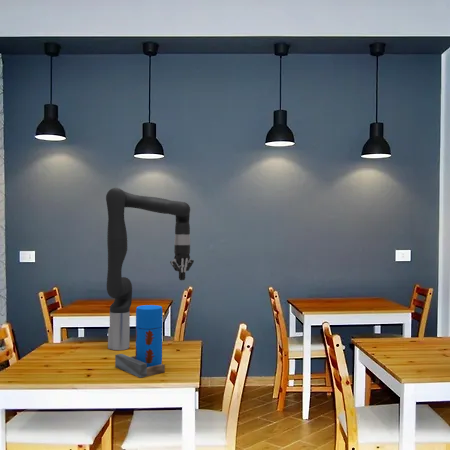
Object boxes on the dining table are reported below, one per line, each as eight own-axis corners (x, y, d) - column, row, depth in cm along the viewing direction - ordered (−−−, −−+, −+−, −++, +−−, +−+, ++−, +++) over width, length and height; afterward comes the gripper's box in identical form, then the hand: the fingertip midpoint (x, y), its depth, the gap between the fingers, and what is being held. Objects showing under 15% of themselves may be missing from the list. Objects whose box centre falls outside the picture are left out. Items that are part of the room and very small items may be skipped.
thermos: (136, 371, 214) (136, 309, 214) (134, 364, 225) (135, 305, 224) (163, 370, 217) (163, 309, 216) (160, 363, 227) (161, 304, 227)
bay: (139, 362, 229) (139, 350, 228) (164, 372, 214) (164, 359, 214) (115, 366, 221) (115, 354, 221) (140, 377, 207) (140, 365, 207)
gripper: (188, 243, 262) (188, 278, 262) (166, 243, 253) (166, 280, 253) (198, 243, 256) (197, 279, 257) (175, 244, 247) (175, 282, 248)
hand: (181, 280), depth 255 cm, fingers closed
